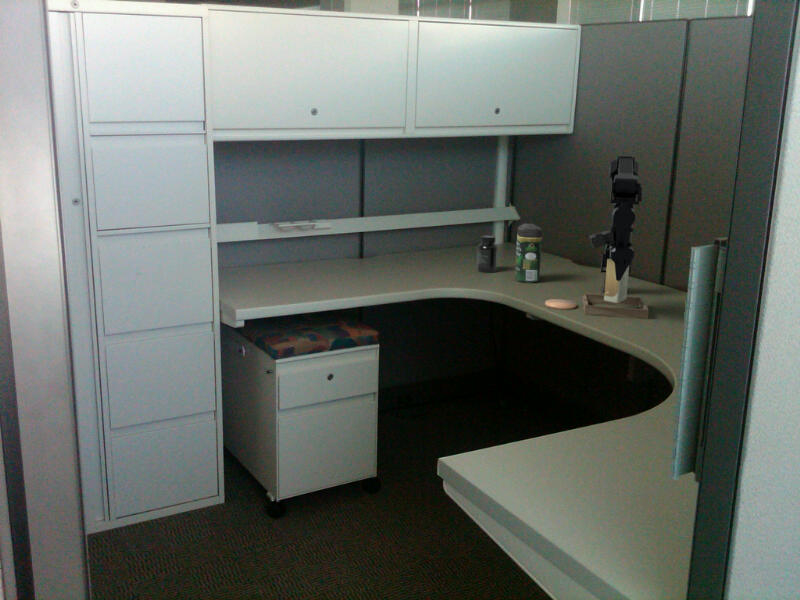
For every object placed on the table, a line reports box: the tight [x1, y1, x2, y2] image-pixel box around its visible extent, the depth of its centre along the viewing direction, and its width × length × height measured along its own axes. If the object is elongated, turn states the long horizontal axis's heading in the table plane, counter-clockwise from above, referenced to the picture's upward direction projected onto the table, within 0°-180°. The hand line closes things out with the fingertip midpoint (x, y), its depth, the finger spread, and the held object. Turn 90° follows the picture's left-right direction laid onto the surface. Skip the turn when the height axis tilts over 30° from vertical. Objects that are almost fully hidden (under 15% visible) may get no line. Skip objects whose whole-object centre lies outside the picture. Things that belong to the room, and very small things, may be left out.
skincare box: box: [603, 258, 629, 303], centre depth 227 cm, size 6×4×12 cm
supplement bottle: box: [476, 235, 499, 274], centre depth 277 cm, size 7×7×12 cm
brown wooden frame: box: [582, 293, 649, 320], centre depth 229 cm, size 15×17×2 cm
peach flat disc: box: [544, 298, 577, 311], centre depth 233 cm, size 9×9×1 cm
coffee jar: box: [514, 223, 543, 284], centre depth 263 cm, size 10×8×19 cm
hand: (616, 277), depth 227 cm, fingers closed on skincare box, 7 cm apart
